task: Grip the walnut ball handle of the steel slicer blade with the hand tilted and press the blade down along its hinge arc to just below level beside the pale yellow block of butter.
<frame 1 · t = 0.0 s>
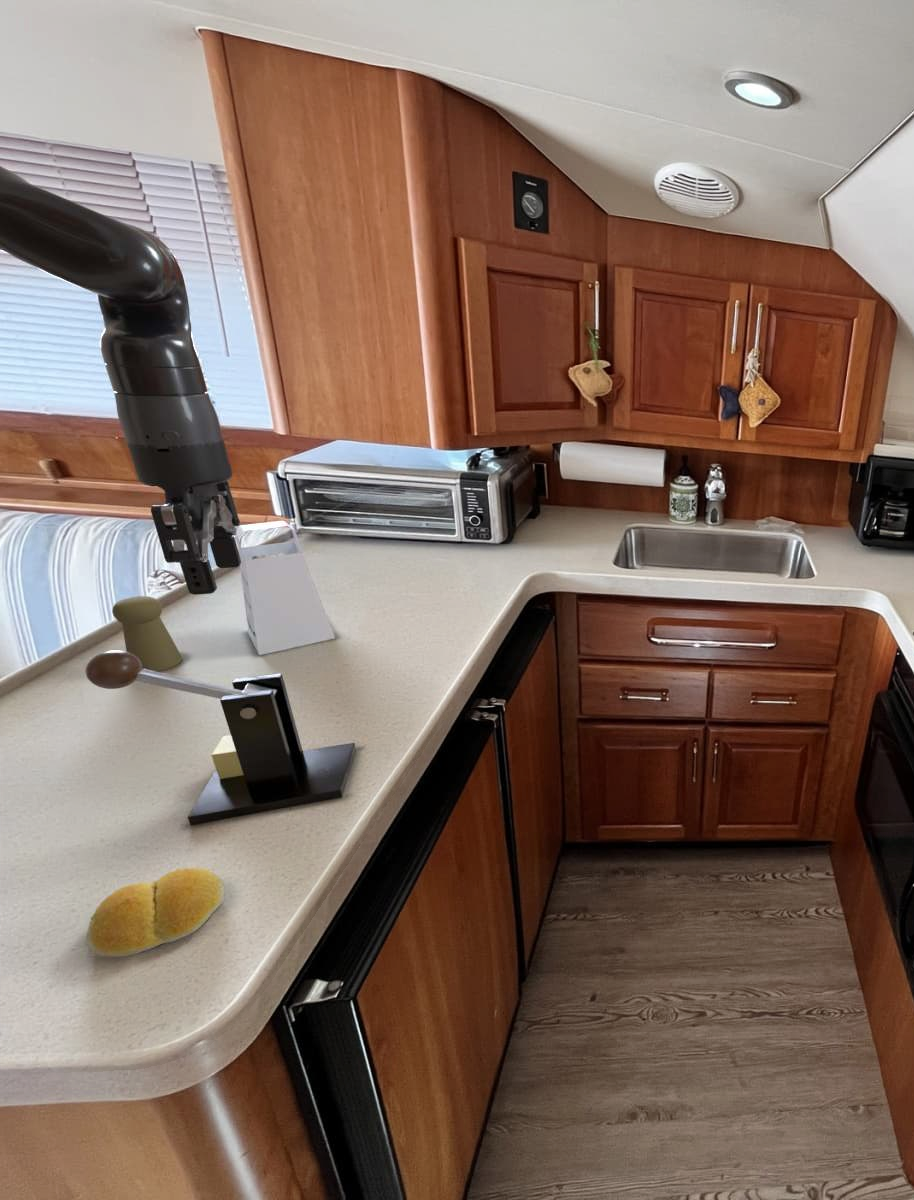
hand: (217, 579, 73), 24 cm above the table, tool pointing down, fingers open, 8 cm apart
bread roll: (161, 922, 59), on the table
slicer: (280, 784, 77), on the table
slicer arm: (185, 684, 69), point 15 cm above the table, hinge at 28.0°
butter: (245, 765, 78), resting on slicer
cork: (156, 664, 99), on the table
grater: (292, 636, 111), on the table
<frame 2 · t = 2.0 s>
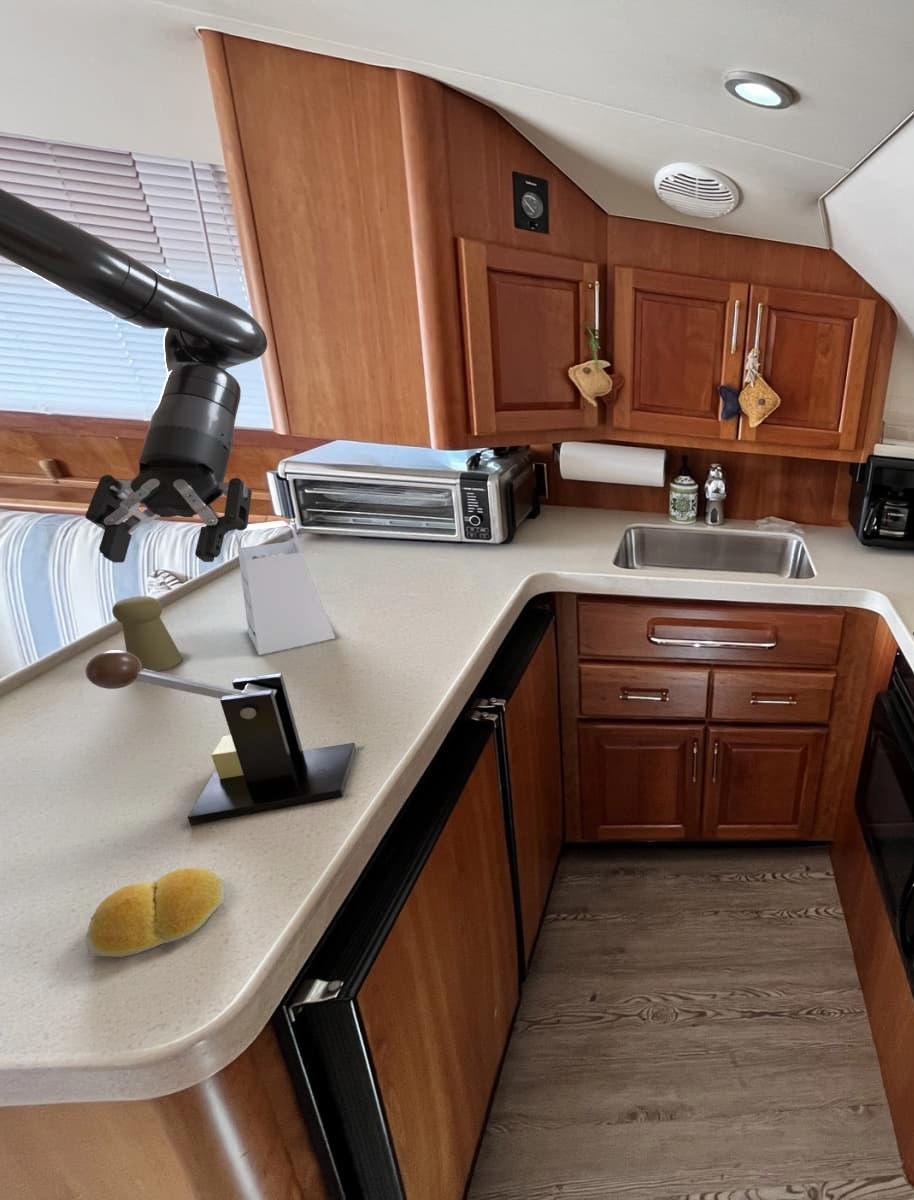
hand: (159, 559, 73), 26 cm above the table, tool tilted 45°, fingers open, 8 cm apart
nothing on the table moved.
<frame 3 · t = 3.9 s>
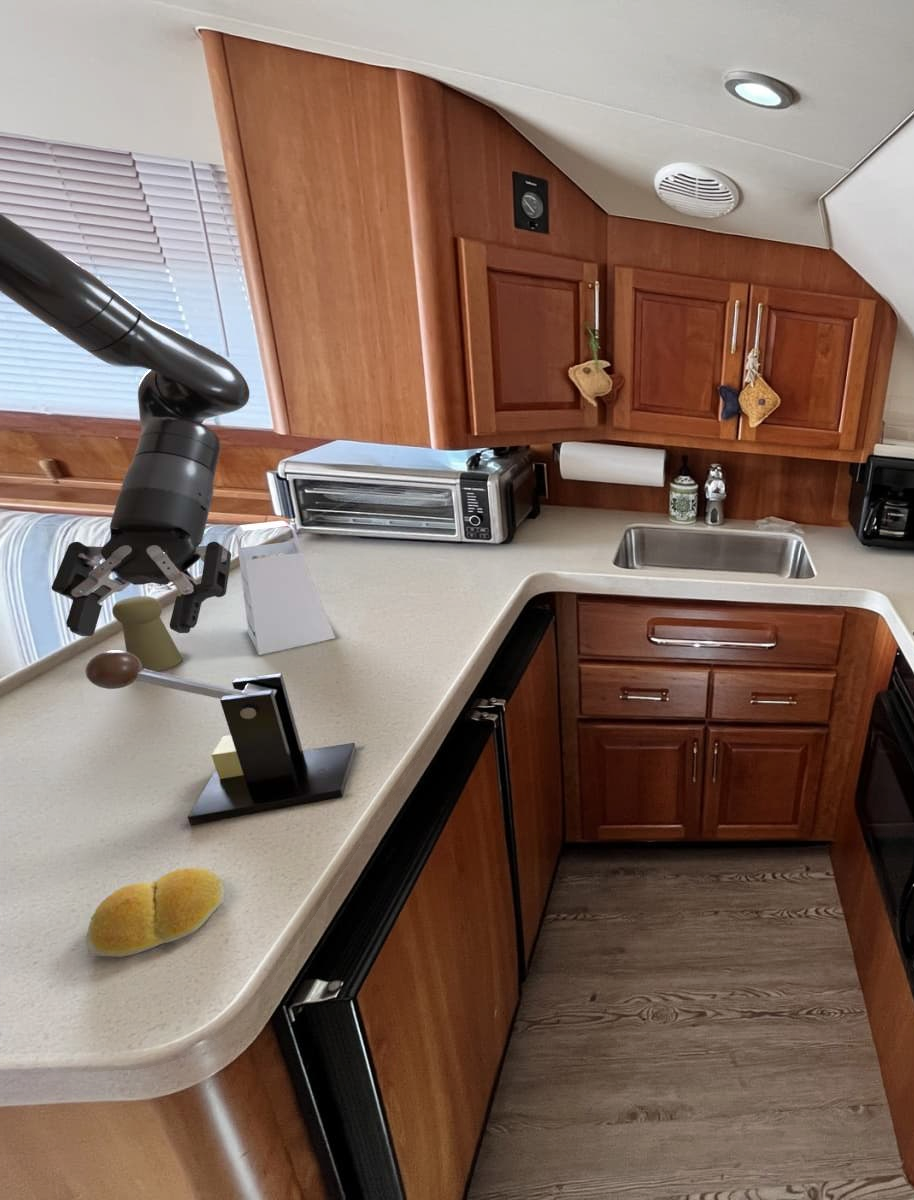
hand: (131, 632, 68), 20 cm above the table, tool tilted 45°, fingers open, 8 cm apart
nothing on the table moved.
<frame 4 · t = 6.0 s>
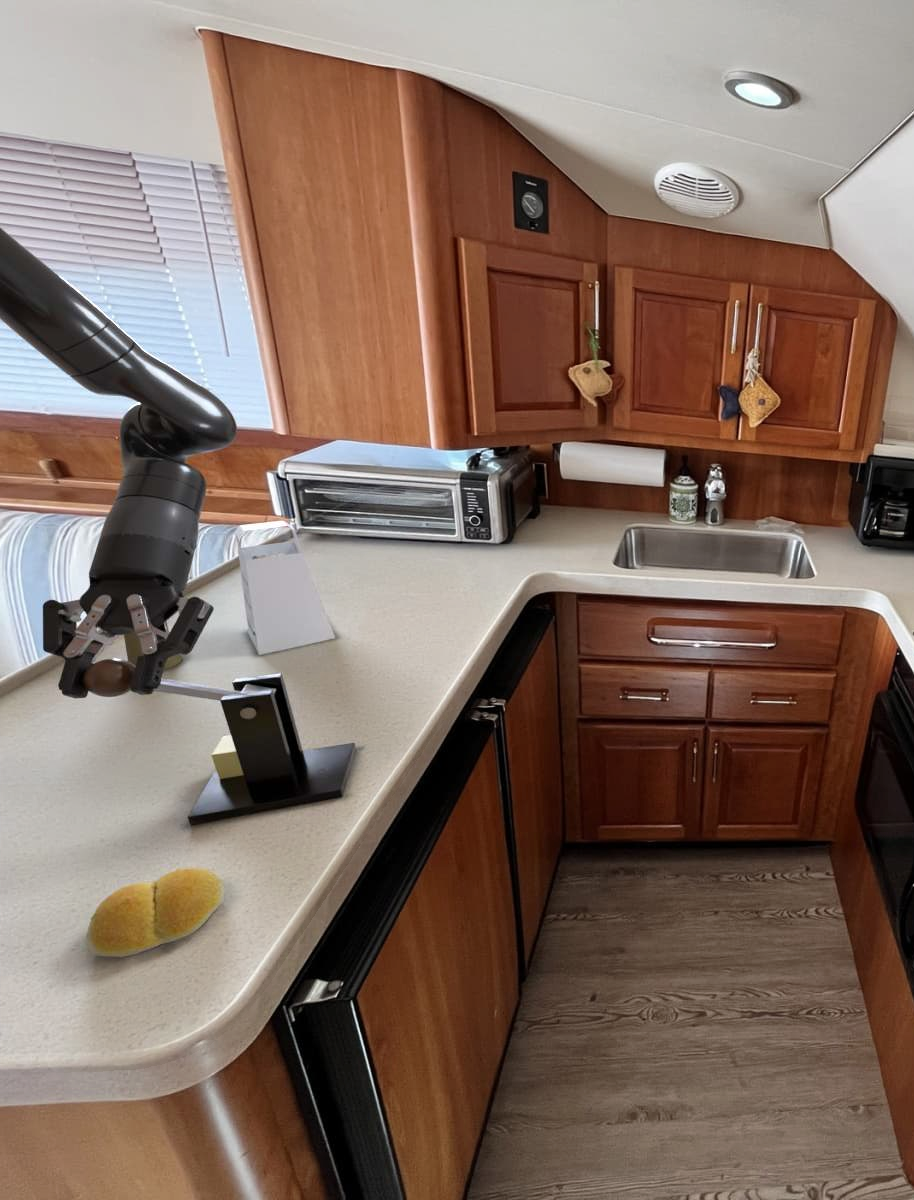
hand: (108, 694, 65), 16 cm above the table, tool tilted 45°, fingers closed on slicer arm, 5 cm apart
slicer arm: (183, 688, 69), point 14 cm above the table, hinge at 23.2°, touching gripper
everything else where it was.
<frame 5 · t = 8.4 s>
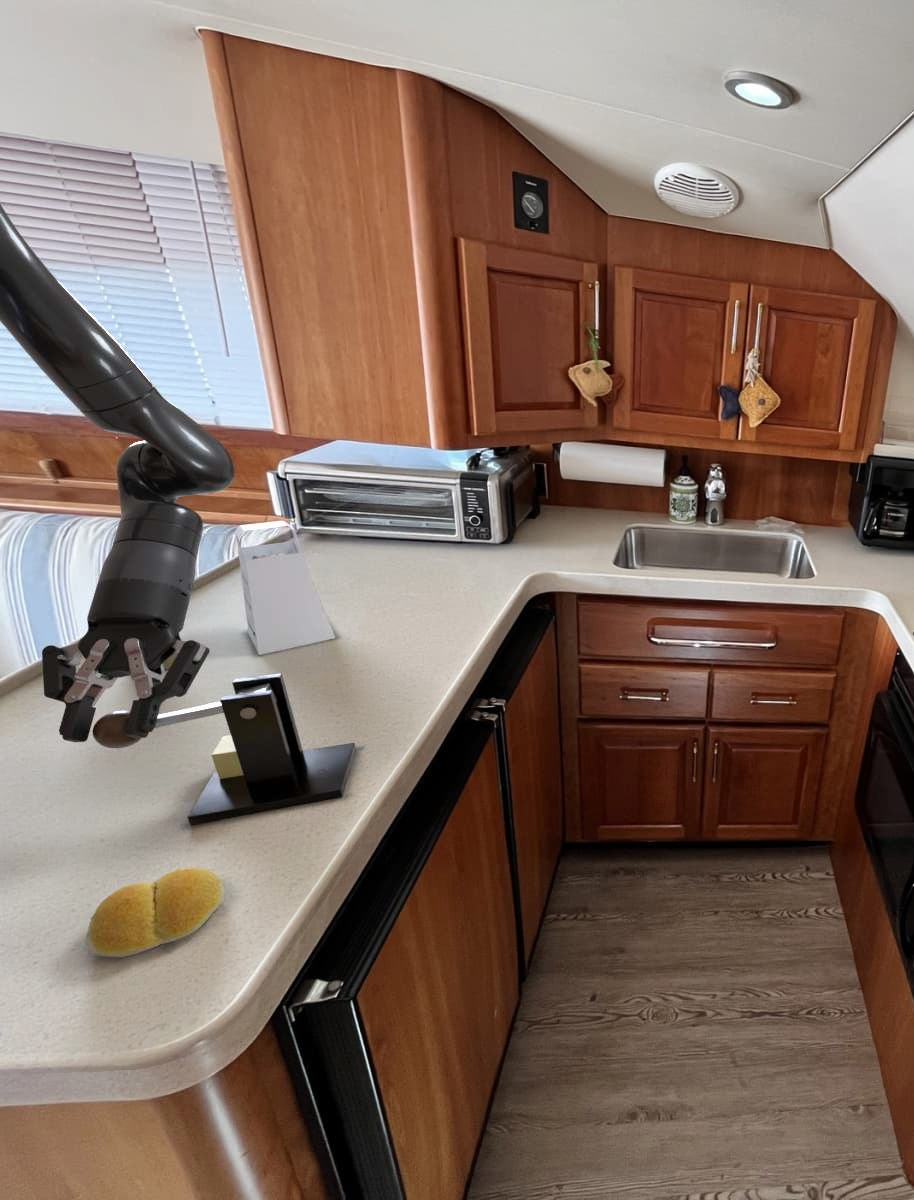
hand: (105, 738, 66), 11 cm above the table, tool tilted 45°, fingers open, 4 cm apart
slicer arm: (186, 714, 70), point 11 cm above the table, hinge at -7.2°, touching gripper
everything else where it was.
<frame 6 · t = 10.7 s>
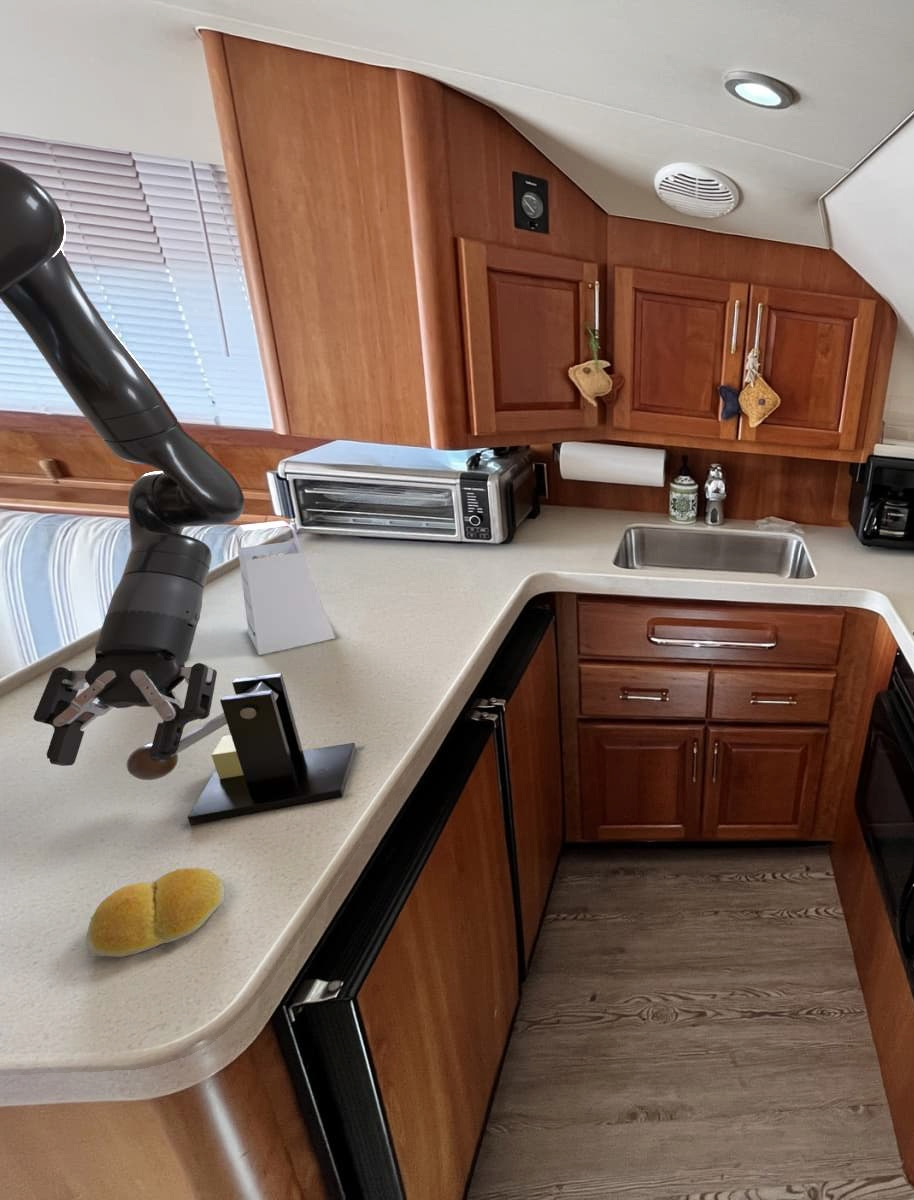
hand: (111, 761, 67), 8 cm above the table, tool tilted 45°, fingers open, 8 cm apart
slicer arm: (202, 731, 71), point 9 cm above the table, hinge at -30.4°, touching gripper
everything else where it was.
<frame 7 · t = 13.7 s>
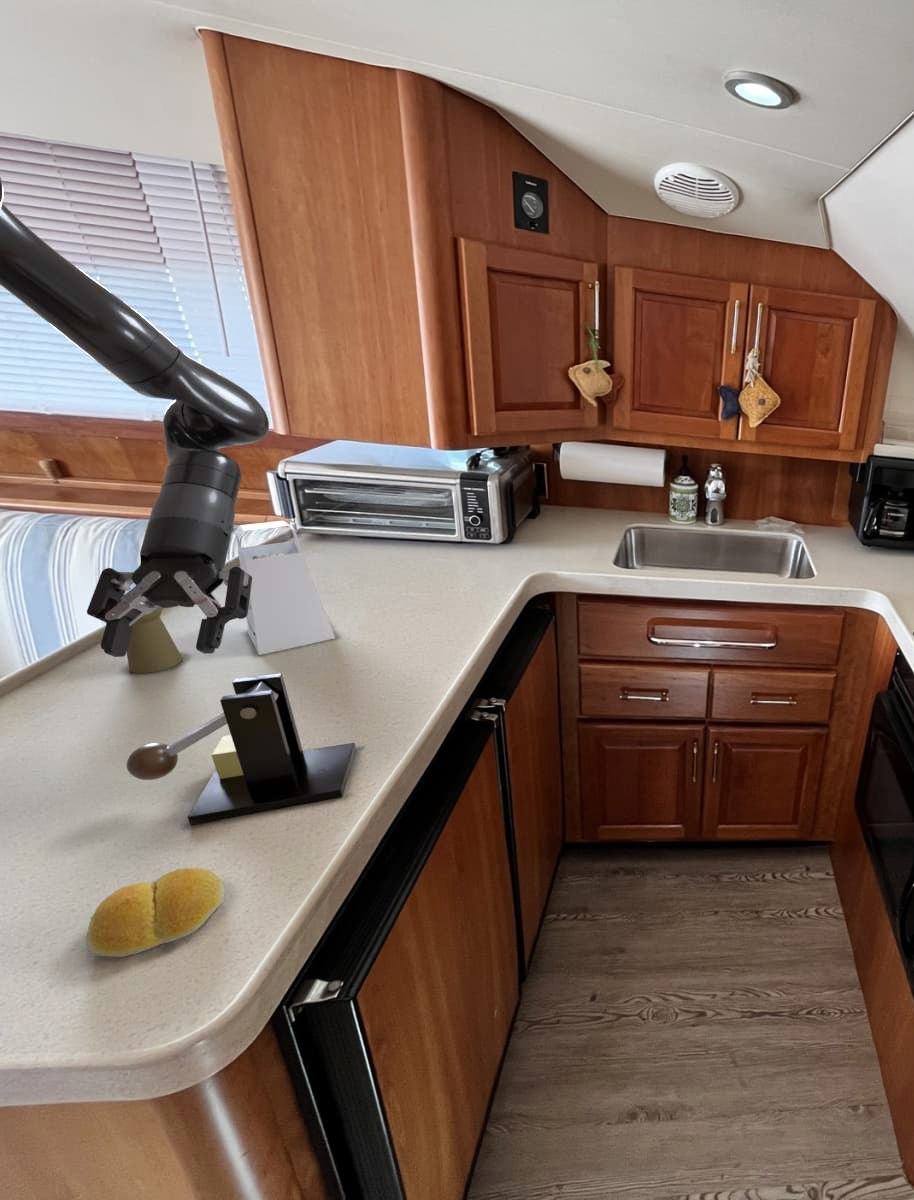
hand: (160, 653, 73), 16 cm above the table, tool tilted 45°, fingers open, 8 cm apart
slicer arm: (202, 731, 71), point 9 cm above the table, hinge at -30.4°
everything else where it was.
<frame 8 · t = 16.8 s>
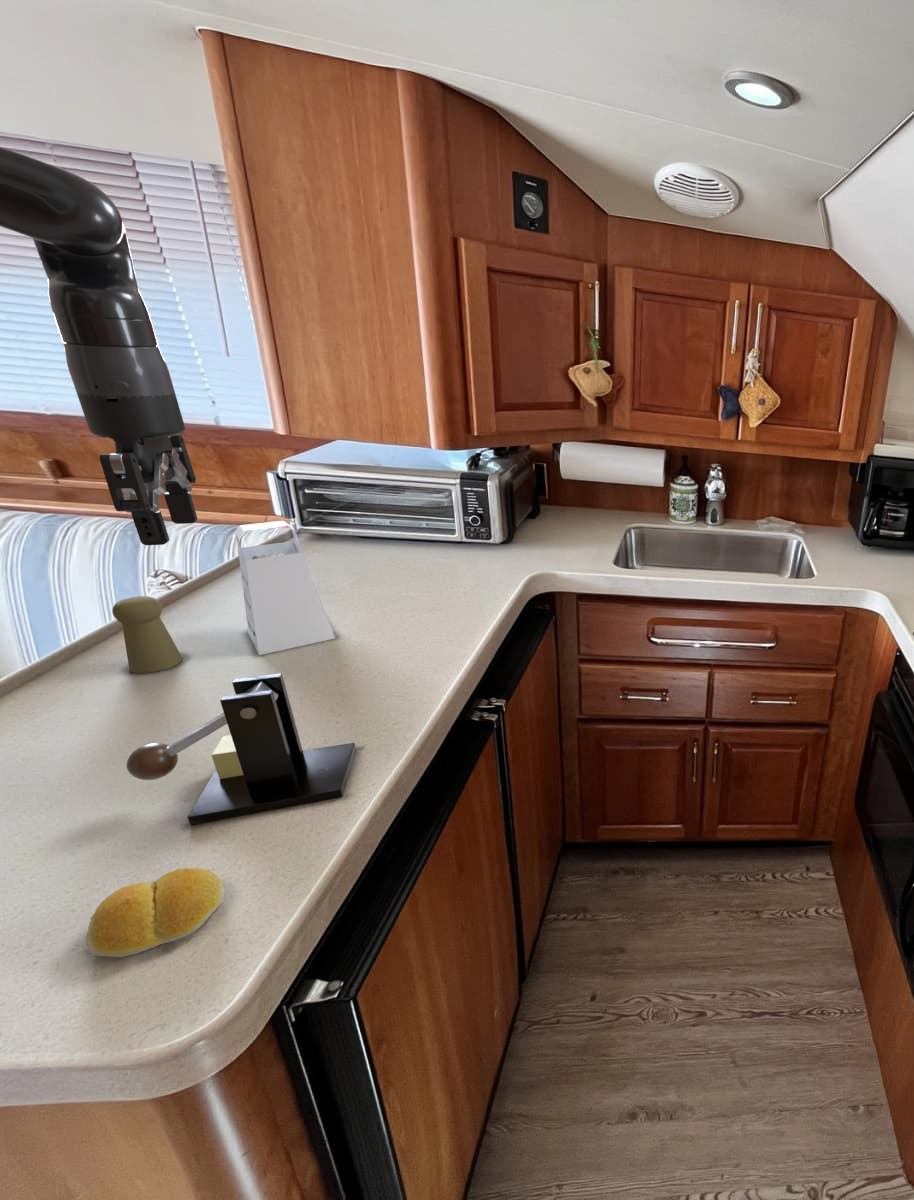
hand: (171, 533, 74), 28 cm above the table, tool pointing down, fingers open, 8 cm apart
nothing on the table moved.
at the end: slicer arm at -30° (first picture: +28°); bread roll moved 0.2 cm from its start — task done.
